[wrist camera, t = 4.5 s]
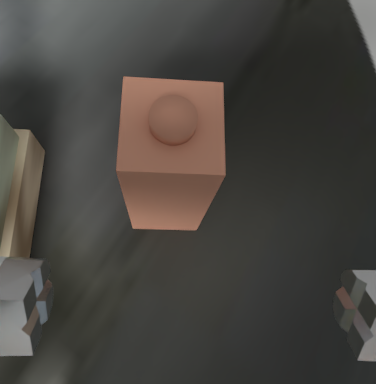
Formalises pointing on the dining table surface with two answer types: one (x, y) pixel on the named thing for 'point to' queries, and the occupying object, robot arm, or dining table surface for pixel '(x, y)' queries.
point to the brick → (170, 150)
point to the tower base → (18, 188)
